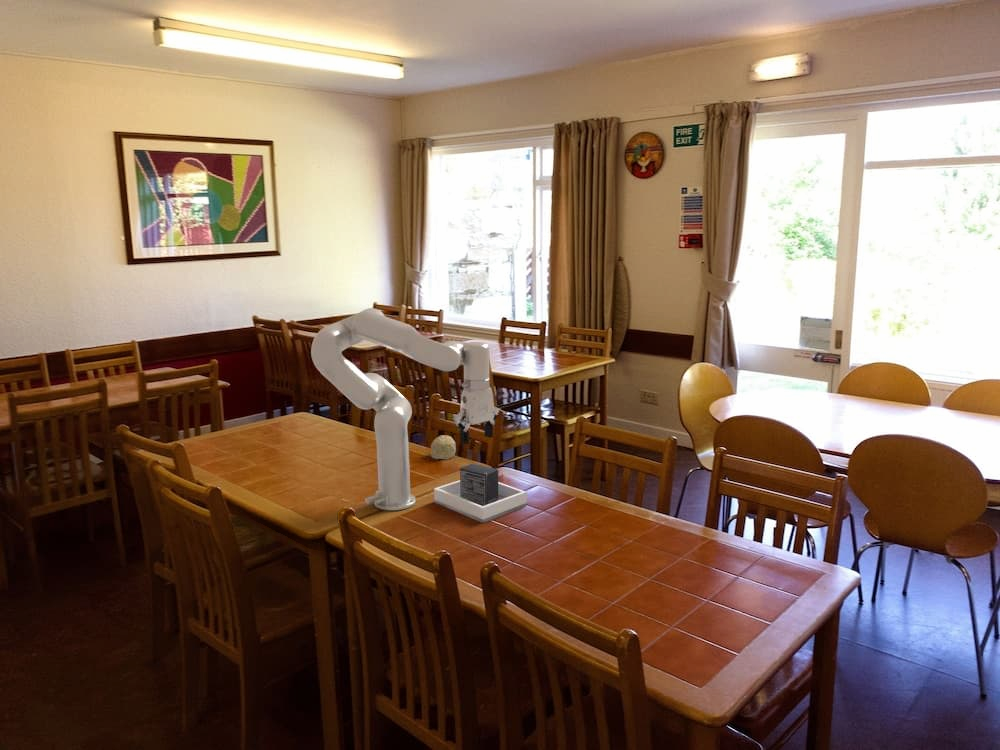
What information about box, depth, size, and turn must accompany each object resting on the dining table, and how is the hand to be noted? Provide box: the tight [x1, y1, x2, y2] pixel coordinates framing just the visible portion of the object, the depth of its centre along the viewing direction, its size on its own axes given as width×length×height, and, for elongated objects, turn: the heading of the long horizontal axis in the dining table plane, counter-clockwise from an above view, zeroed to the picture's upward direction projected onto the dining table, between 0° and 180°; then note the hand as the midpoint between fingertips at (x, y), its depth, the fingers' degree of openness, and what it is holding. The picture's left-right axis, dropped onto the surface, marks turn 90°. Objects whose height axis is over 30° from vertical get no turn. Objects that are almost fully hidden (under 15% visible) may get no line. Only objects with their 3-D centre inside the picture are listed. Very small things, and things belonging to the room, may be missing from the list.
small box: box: [459, 463, 499, 506], centre depth 217 cm, size 11×6×10 cm, turn 53°
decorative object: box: [430, 434, 457, 460], centre depth 263 cm, size 9×10×10 cm
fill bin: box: [433, 479, 527, 524], centre depth 217 cm, size 18×22×4 cm
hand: (476, 440), depth 214 cm, fingers open, 9 cm apart
